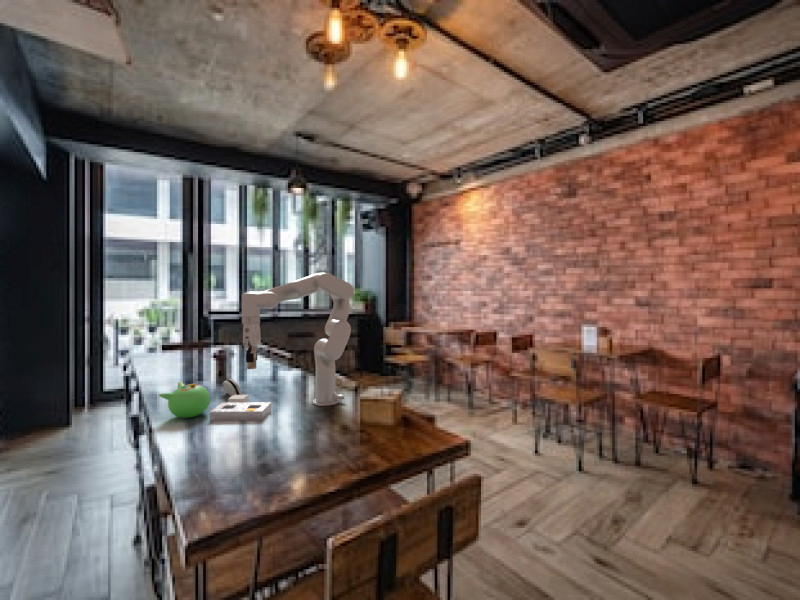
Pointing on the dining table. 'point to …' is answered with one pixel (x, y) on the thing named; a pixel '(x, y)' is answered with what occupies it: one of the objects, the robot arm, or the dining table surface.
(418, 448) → the dining table surface
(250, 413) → the plate
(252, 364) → the peg
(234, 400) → the beige square block
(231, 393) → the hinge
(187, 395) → the toy bird
